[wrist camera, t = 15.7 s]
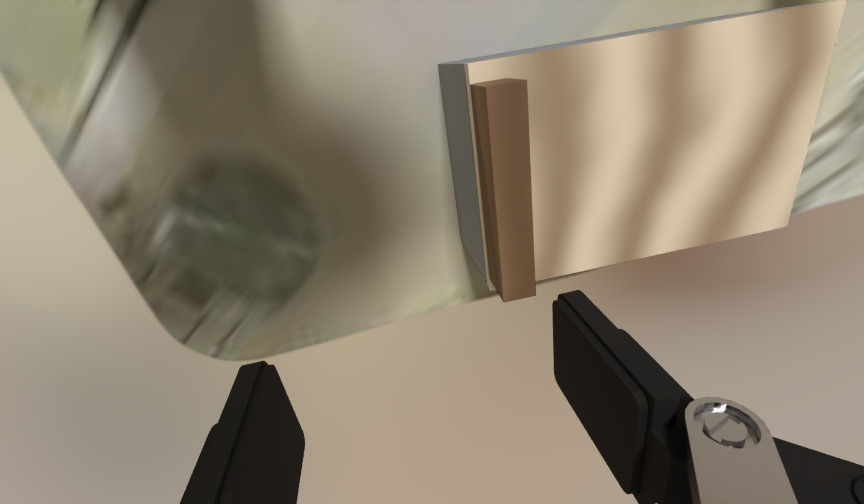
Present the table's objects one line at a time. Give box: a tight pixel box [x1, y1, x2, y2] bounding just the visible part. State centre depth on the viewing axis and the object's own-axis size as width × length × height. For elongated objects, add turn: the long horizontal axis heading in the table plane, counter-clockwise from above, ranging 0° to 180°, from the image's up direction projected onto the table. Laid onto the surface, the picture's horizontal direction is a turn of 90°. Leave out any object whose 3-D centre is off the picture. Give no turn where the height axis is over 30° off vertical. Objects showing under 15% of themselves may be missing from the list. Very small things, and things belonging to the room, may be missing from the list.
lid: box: [464, 0, 847, 302], centre depth 24 cm, size 22×14×4 cm, turn 98°
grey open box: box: [438, 2, 822, 283], centre depth 29 cm, size 22×14×8 cm, turn 98°
